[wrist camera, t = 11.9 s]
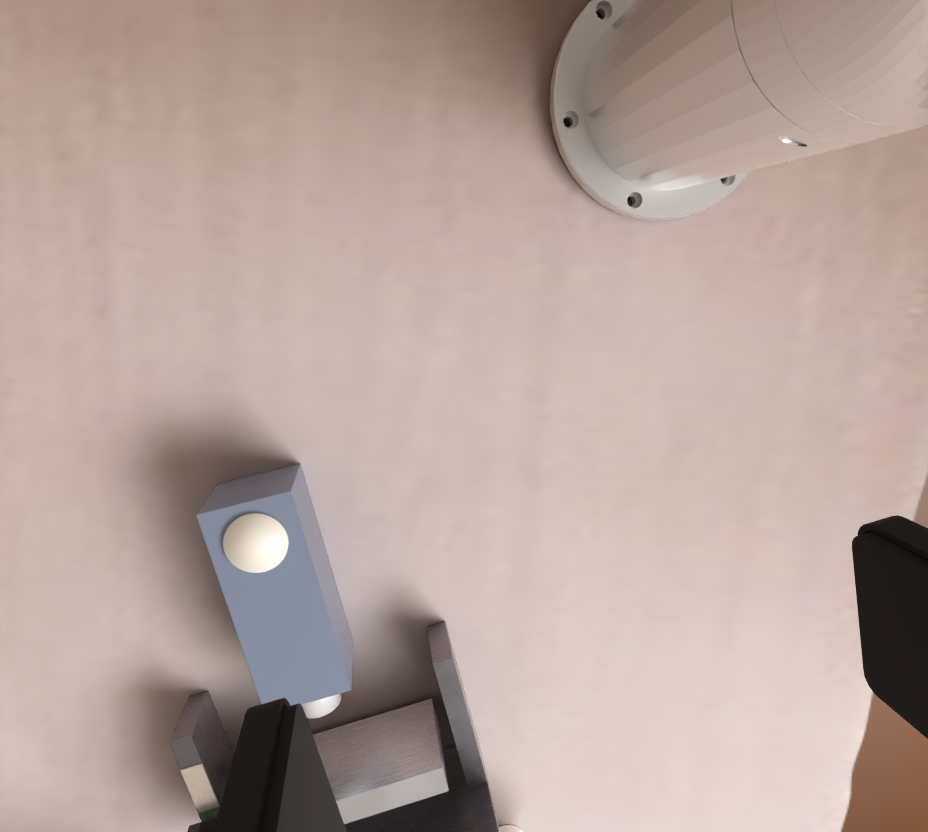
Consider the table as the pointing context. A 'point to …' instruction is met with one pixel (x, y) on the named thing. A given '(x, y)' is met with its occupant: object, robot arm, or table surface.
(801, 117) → the robot arm
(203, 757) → the gauge frame
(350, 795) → the anvil plate
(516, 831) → the pipe fitting
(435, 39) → the table surface
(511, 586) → the table surface
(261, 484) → the block
